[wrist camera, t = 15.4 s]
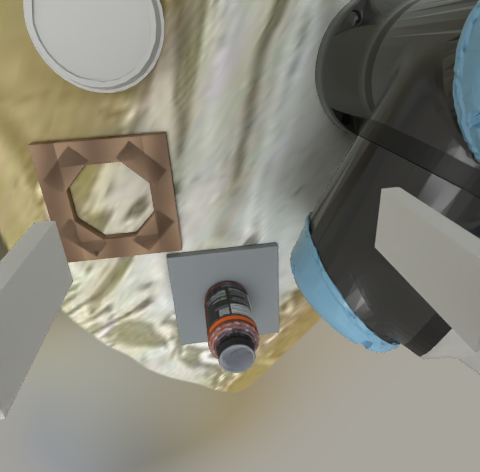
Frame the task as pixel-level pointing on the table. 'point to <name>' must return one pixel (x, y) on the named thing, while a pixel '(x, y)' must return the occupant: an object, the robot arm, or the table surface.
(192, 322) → the slate pad
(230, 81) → the table surface
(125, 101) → the table surface
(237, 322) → the supplement bottle
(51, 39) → the disposable coffee cup
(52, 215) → the socket board
